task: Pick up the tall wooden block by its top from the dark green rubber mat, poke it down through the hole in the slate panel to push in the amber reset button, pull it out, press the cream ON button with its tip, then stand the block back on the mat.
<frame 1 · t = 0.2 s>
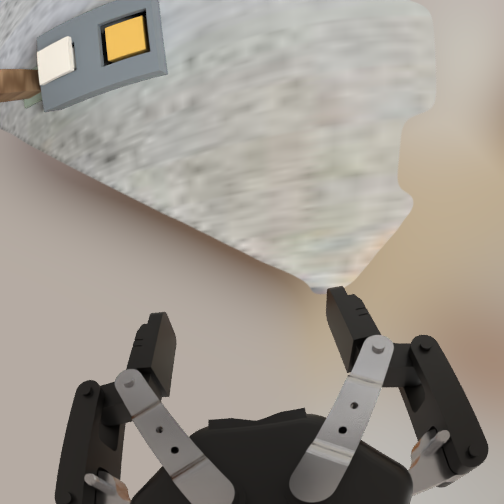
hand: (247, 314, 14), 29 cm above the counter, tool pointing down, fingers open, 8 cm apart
reset plunger: (127, 39, 26), point 3 cm above the counter, slide at 0.0 cm
tall wooden block: (35, 84, 28), point 1 cm above the counter, touching rubber mat
rubber mat: (37, 84, 28), on the counter
on button: (59, 61, 24), point 6 cm above the counter, slide at 0.0 cm
switch panel: (105, 53, 29), on the counter
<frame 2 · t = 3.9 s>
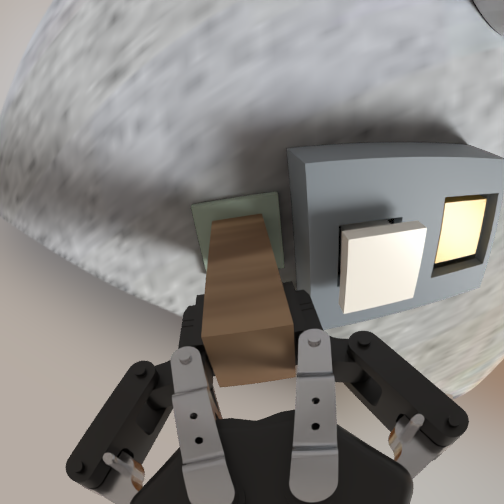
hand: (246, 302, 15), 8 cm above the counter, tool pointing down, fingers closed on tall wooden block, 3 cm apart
reset plunger: (455, 225, 19), point 3 cm above the counter, slide at 0.0 cm
tall wooden block: (240, 239, 21), point 1 cm above the counter, touching gripper, rubber mat
rubber mat: (240, 235, 21), on the counter
on button: (373, 256, 17), point 5 cm above the counter, slide at 0.0 cm
switch panel: (392, 214, 22), on the counter
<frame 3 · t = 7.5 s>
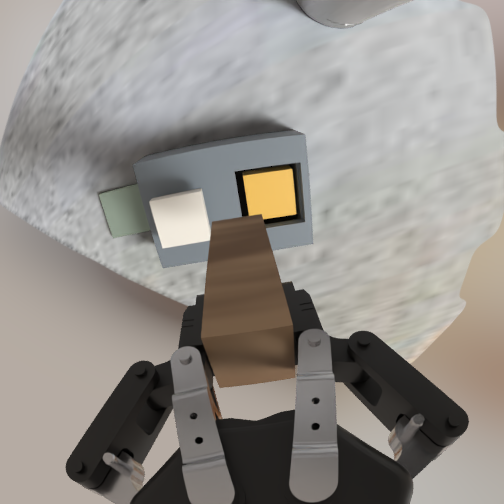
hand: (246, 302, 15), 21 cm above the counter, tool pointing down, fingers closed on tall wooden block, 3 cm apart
reset plunger: (269, 192, 30), point 3 cm above the counter, slide at 0.0 cm
tall wooden block: (240, 239, 21), point 14 cm above the counter, touching gripper
rubber mat: (127, 210, 33), on the counter
on button: (183, 214, 28), point 5 cm above the counter, slide at 0.0 cm
switch panel: (227, 190, 33), on the counter
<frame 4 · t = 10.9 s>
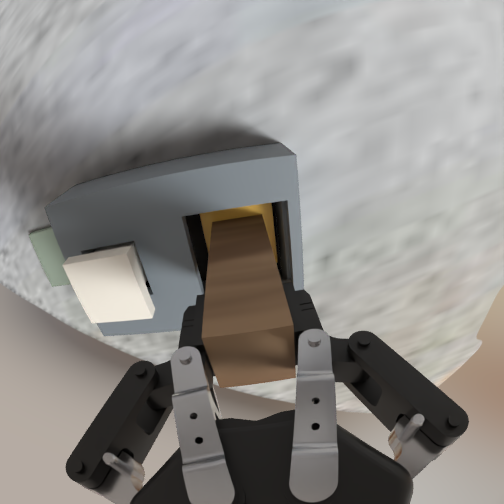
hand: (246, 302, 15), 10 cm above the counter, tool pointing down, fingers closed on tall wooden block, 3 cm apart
reset plunger: (239, 232, 22), point 2 cm above the counter, slide at 1.6 cm, touching tall wooden block
tall wooden block: (240, 240, 21), point 3 cm above the counter, touching gripper, reset plunger
rubber mat: (63, 254, 23), on the counter
on button: (114, 277, 18), point 5 cm above the counter, slide at 0.0 cm
switch panel: (184, 232, 23), on the counter
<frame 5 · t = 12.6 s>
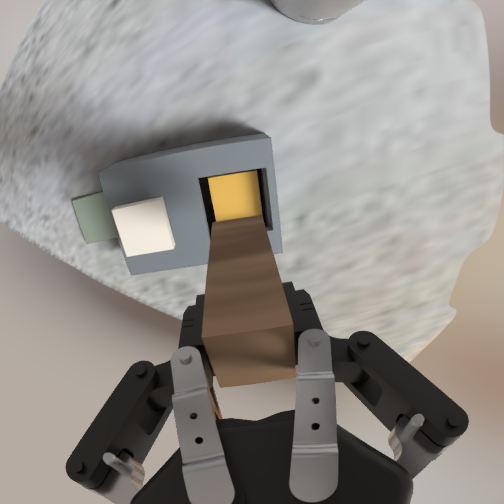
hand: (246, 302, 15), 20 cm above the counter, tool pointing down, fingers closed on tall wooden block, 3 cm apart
reset plunger: (235, 194, 31), point 2 cm above the counter, slide at 1.7 cm
tall wooden block: (240, 240, 21), point 13 cm above the counter, touching gripper
rubber mat: (100, 216, 32), on the counter
on button: (146, 222, 27), point 5 cm above the counter, slide at 0.0 cm
switch panel: (195, 196, 32), on the counter
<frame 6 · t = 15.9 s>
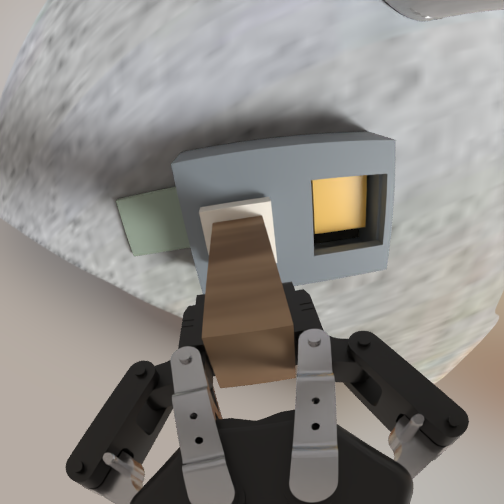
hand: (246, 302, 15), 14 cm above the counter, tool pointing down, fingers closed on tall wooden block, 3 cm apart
reset plunger: (337, 200, 25), point 2 cm above the counter, slide at 1.7 cm
tall wooden block: (240, 241, 21), point 6 cm above the counter, touching gripper, on button
rubber mat: (154, 221, 26), on the counter
on button: (239, 228, 23), point 5 cm above the counter, slide at 1.0 cm, touching tall wooden block
switch panel: (285, 200, 26), on the counter
when the fingers open (9 cm above the counter, at t = 21.6 s): tall wooden block drops 1 cm, resting on rubber mat.
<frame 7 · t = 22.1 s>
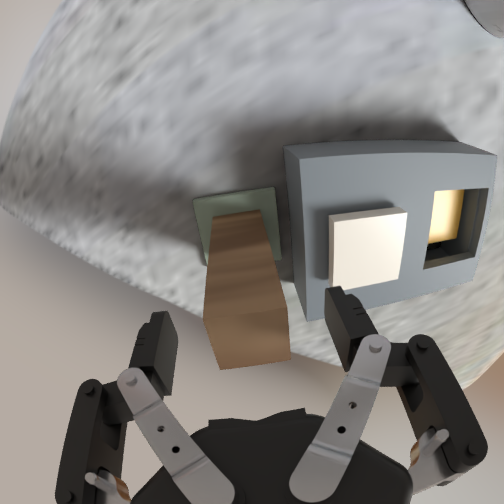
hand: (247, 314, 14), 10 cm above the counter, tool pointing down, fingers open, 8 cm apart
reset plunger: (435, 211, 21), point 2 cm above the counter, slide at 1.7 cm
tall wooden block: (239, 234, 22), point 1 cm above the counter, touching rubber mat
rubber mat: (239, 229, 23), on the counter
on button: (359, 240, 19), point 4 cm above the counter, slide at 1.0 cm
switch panel: (385, 209, 23), on the counter
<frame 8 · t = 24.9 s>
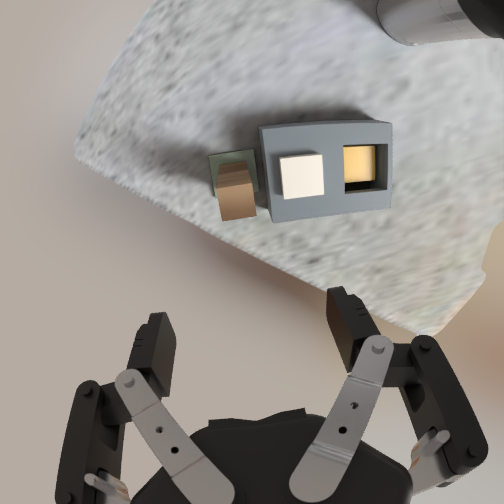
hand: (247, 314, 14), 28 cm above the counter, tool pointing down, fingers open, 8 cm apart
reset plunger: (356, 162, 37), point 2 cm above the counter, slide at 1.7 cm
tall wooden block: (234, 175, 38), point 1 cm above the counter, touching rubber mat
rubber mat: (234, 173, 38), on the counter
on button: (299, 173, 34), point 4 cm above the counter, slide at 1.0 cm
switch panel: (323, 162, 38), on the counter
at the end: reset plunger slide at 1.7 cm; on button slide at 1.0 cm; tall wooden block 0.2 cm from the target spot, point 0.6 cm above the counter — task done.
